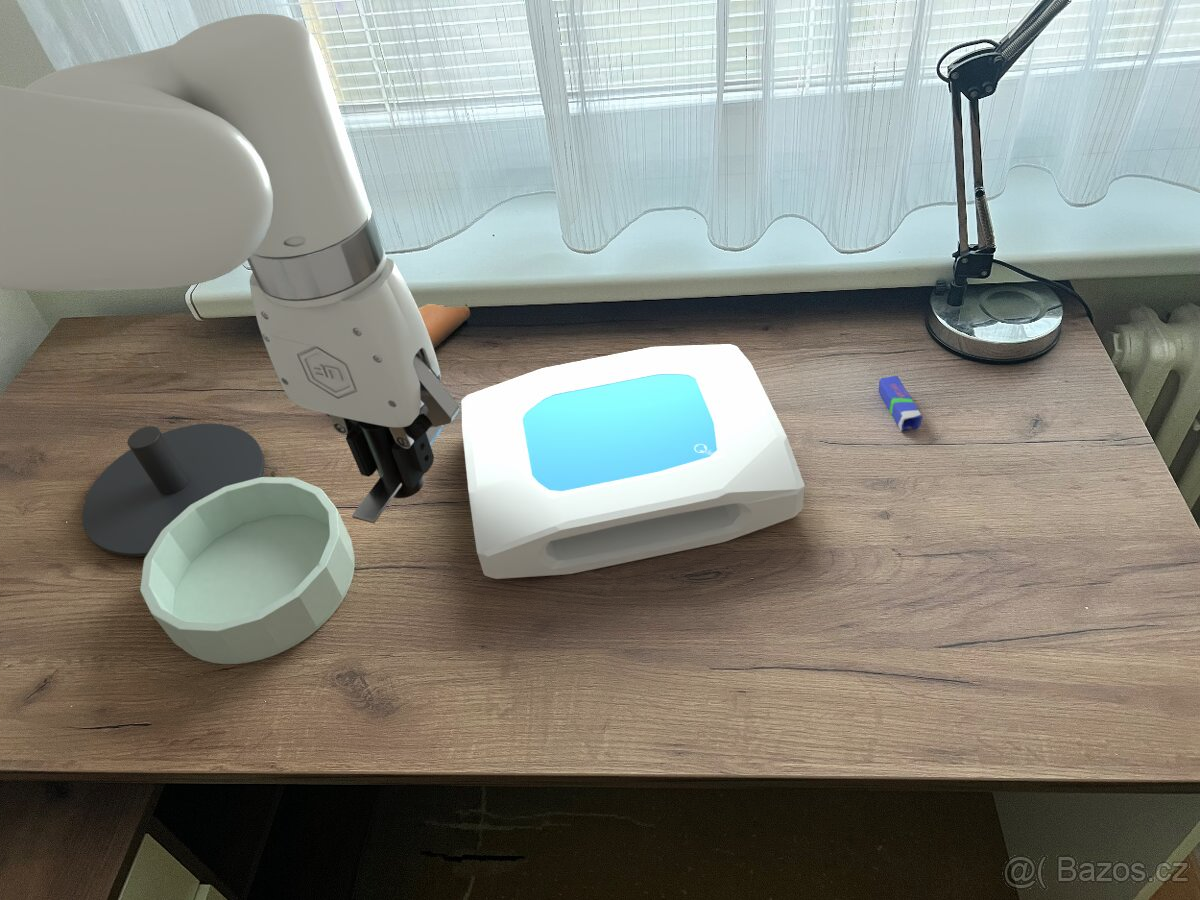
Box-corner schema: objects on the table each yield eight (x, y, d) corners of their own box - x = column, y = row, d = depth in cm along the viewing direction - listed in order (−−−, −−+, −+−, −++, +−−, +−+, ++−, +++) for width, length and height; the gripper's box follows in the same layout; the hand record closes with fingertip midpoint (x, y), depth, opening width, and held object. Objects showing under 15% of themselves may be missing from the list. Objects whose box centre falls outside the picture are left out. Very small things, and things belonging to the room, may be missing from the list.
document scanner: (470, 429, 90) (457, 383, 85) (734, 377, 92) (735, 329, 87) (488, 592, 75) (473, 546, 70) (803, 526, 76) (808, 477, 72)
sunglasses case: (416, 302, 106) (427, 267, 101) (462, 337, 106) (475, 304, 101) (316, 392, 96) (322, 359, 90) (368, 431, 96) (377, 400, 91)
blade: (386, 538, 62) (357, 469, 57) (351, 528, 62) (319, 460, 58) (454, 442, 68) (432, 372, 63) (421, 435, 69) (397, 366, 64)
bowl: (205, 702, 70) (178, 668, 66) (143, 578, 80) (116, 543, 76) (387, 588, 76) (371, 552, 73) (308, 486, 86) (291, 450, 83)
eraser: (899, 433, 83) (902, 418, 82) (877, 393, 88) (879, 377, 86) (919, 430, 83) (923, 414, 82) (896, 390, 88) (899, 374, 86)
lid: (115, 593, 79) (72, 539, 74) (67, 488, 90) (26, 435, 84) (294, 494, 86) (266, 438, 80) (230, 408, 96) (201, 353, 91)
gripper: (165, 268, 51) (278, 481, 64) (402, 307, 46) (473, 531, 59) (245, 204, 56) (335, 414, 69) (468, 232, 51) (520, 454, 64)
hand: (398, 466), depth 64 cm, fingers closed on blade, 3 cm apart
